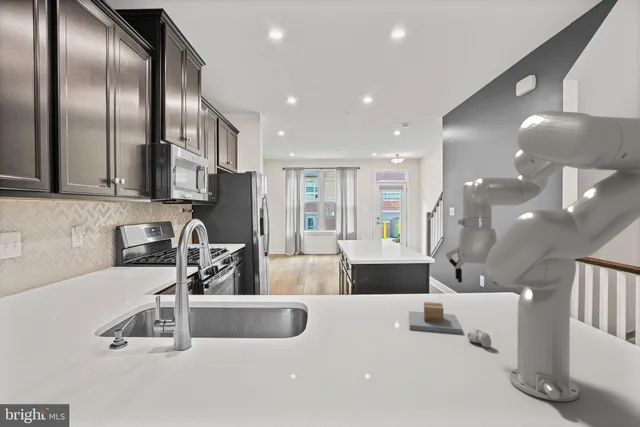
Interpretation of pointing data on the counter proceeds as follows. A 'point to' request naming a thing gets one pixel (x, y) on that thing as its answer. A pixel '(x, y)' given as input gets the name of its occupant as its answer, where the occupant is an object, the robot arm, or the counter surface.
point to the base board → (447, 326)
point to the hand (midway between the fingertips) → (477, 282)
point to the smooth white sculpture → (479, 337)
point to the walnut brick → (433, 312)
